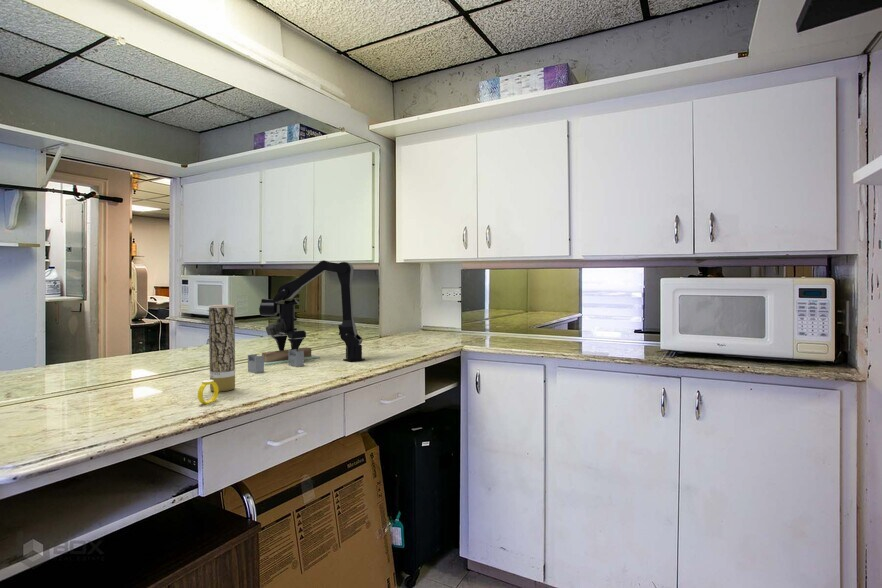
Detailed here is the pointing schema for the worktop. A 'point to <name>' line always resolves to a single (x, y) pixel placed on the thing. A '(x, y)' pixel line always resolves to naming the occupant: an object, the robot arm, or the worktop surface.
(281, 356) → the rail
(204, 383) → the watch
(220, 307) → the brown tall cylinder
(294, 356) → the post
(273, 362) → the mat
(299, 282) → the robot arm
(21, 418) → the worktop surface
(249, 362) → the post
